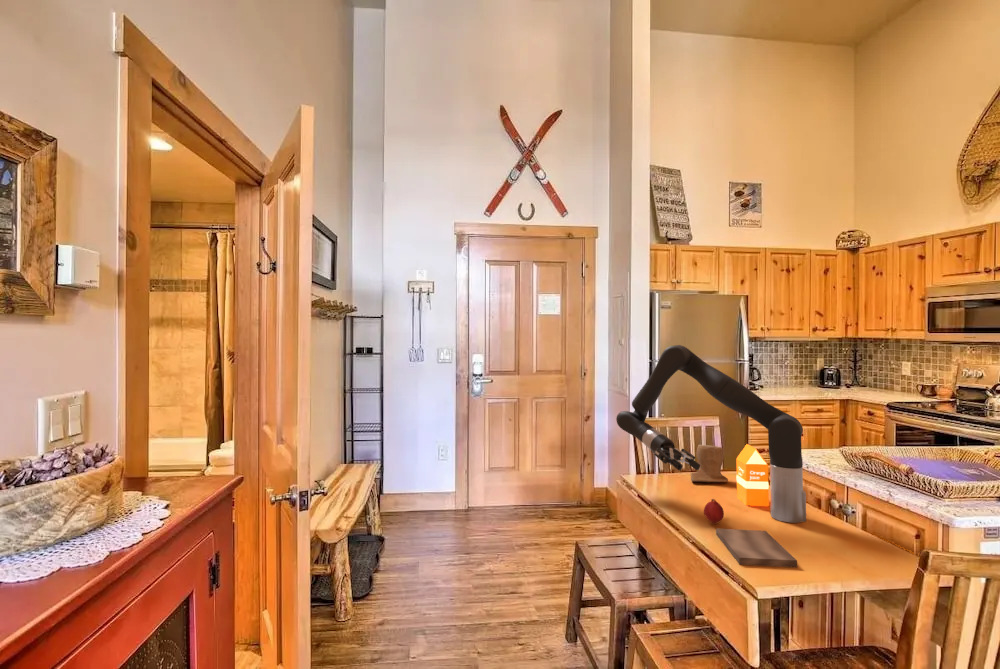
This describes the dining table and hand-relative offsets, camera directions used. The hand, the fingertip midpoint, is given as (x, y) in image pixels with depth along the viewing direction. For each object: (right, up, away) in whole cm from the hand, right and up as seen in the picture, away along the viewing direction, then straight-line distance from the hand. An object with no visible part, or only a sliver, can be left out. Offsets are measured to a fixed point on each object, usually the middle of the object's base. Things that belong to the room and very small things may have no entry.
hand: (690, 468), depth 166 cm
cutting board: (+6, -15, -30) cm, 34 cm away
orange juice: (+27, -15, +11) cm, 33 cm away
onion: (+4, -15, -10) cm, 19 cm away
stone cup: (+22, -16, +38) cm, 46 cm away
